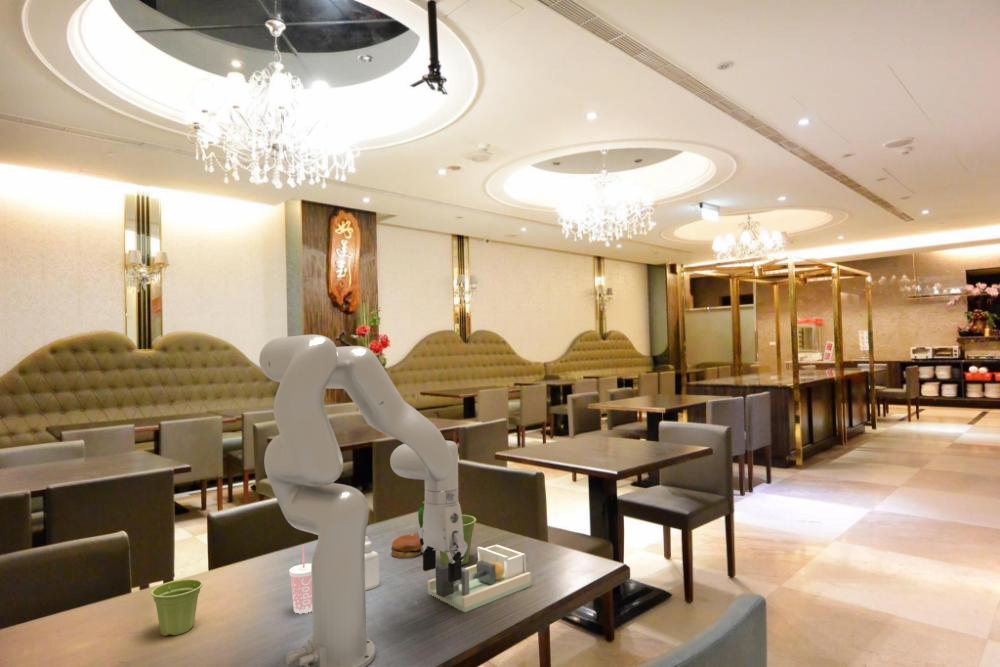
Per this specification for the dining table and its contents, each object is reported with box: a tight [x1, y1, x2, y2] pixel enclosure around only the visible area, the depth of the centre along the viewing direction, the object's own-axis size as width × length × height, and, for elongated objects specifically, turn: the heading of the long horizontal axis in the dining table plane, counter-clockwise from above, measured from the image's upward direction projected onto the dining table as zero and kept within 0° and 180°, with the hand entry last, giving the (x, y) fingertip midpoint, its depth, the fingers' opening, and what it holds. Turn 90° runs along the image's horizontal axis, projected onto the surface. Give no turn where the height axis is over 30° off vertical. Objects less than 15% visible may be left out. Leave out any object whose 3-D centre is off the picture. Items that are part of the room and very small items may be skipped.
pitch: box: [427, 544, 532, 613], centre depth 135 cm, size 20×14×8 cm
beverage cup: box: [288, 544, 312, 615], centre depth 128 cm, size 6×6×14 cm
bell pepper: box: [417, 500, 425, 529], centre depth 181 cm, size 8×8×10 cm
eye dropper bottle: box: [365, 536, 380, 591], centre depth 139 cm, size 4×6×12 cm
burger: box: [390, 533, 423, 559], centre depth 163 cm, size 10×9×5 cm
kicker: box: [435, 560, 496, 597], centre depth 132 cm, size 14×5×6 cm, turn 131°
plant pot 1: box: [150, 578, 204, 637], centre depth 120 cm, size 9×9×9 cm
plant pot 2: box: [439, 514, 477, 565], centre depth 154 cm, size 12×12×11 cm
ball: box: [491, 562, 504, 580], centre depth 138 cm, size 4×4×4 cm
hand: (441, 574), depth 128 cm, fingers open, 9 cm apart
